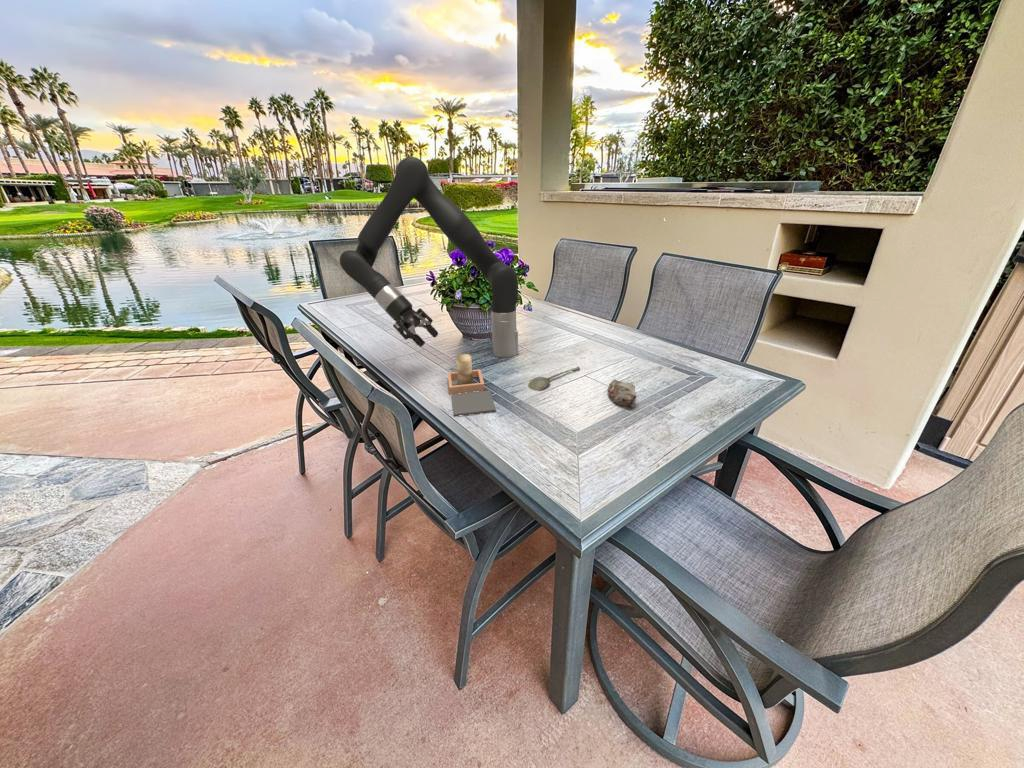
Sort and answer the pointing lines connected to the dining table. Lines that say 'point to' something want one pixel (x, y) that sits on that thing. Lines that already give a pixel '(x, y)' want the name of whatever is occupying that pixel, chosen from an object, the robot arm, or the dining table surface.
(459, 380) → the maple post
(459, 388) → the terracotta collar
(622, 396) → the mineral rock
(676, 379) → the dining table surface
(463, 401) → the charcoal mat
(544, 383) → the soupspoon
